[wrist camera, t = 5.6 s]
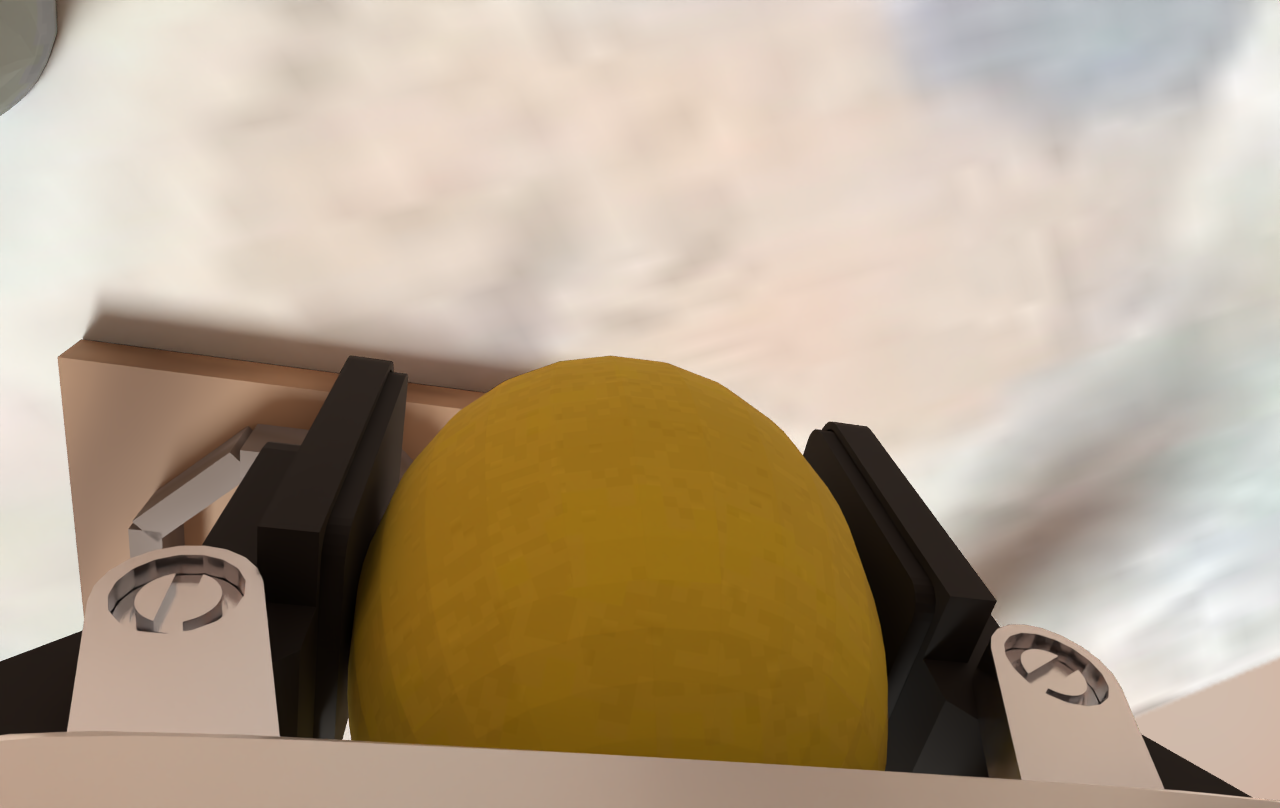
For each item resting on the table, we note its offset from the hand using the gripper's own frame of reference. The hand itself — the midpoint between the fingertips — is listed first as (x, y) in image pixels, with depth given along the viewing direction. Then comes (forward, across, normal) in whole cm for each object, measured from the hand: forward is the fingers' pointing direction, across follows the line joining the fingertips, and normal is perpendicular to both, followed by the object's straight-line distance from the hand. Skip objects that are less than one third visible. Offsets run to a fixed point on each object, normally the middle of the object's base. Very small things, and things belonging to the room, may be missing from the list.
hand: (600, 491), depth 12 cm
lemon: (+2, 0, 0) cm, 2 cm away
